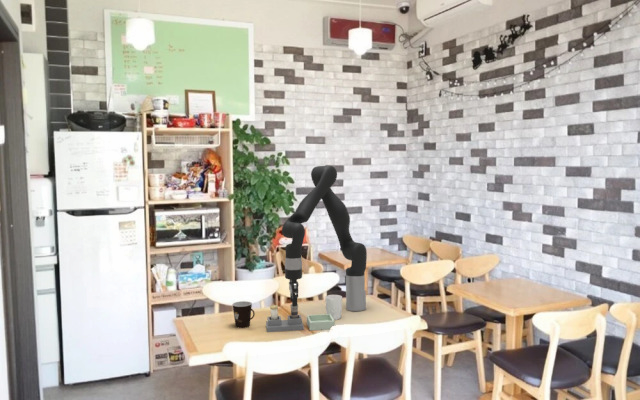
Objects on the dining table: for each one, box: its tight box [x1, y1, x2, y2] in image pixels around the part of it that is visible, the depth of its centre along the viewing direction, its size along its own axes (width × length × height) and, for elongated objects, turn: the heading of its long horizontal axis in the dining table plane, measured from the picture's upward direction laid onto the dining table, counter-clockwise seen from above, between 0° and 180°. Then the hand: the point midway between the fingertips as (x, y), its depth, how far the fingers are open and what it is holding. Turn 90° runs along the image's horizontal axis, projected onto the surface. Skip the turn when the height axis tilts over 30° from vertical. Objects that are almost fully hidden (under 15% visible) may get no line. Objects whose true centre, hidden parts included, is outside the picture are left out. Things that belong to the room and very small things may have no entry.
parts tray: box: [306, 313, 336, 331], centre depth 234 cm, size 11×11×4 cm
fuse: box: [269, 304, 279, 320], centre depth 231 cm, size 3×3×8 cm
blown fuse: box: [290, 303, 299, 319], centre depth 232 cm, size 3×3×8 cm
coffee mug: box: [232, 300, 256, 329], centre depth 234 cm, size 12×9×10 cm
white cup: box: [324, 294, 343, 321], centre depth 245 cm, size 8×8×10 cm
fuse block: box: [265, 314, 305, 333], centre depth 232 cm, size 16×9×4 cm, turn 99°
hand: (293, 303), depth 232 cm, fingers open, 8 cm apart
